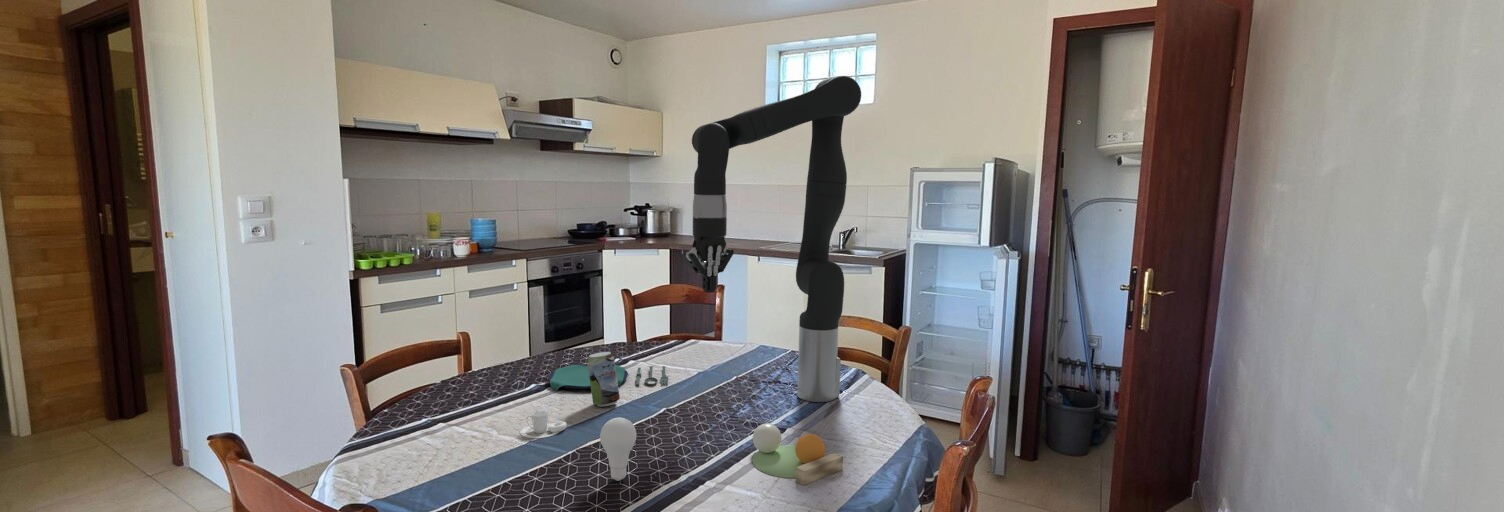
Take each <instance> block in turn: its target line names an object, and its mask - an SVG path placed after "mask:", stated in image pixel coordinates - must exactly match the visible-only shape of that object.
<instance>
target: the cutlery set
mask: <svg viewBox="0 0 1504 512" xmlns="http://www.w3.org/2000/svg"><path fill="white" fill-rule="evenodd" d="M615 367H616V374H617V382H618V386H620V385H622V383H623V381H625V380H626V379H628V376H629V372H628V371H627V370H626V368H625V366H621V365H617V364H615ZM653 368H654V367H653V366H652V365H651V366H649V375H650V376H649V377H646V378H645V379H644V383H645V384H646V385H650V386H651V385H655V384H657V383H658V379H657V378H656V377H653ZM547 378H548V379H547V381H548V382H549V385H550V387H551V389H553V390H554V391H558V390H559V389H560V388H566V389H572V390H573V389H576V390H581V389H582V390H587V389H589V390H591V386H590V379H589V371H588V364H572V365H568V366H564V367H559V368H556V369H555V370H554V371H553V372H551V373H549V375H548V376H547ZM641 378H642V373H641V367H637V372H636V379H635V380H636V381H635V384H636V385H635V386H638V387H640V382H641V381H640V379H641ZM648 382H654V383H648ZM660 382H661V386H665V385H666V386H668V384H669V376H667V374H666V366H665V365H663V366H662V376H660Z"/></svg>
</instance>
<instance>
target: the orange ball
mask: <svg viewBox="0 0 1504 512" xmlns="http://www.w3.org/2000/svg"><path fill="white" fill-rule="evenodd" d="M794 446H795V452H796V455H797V457H798V459H799V460H800V461H801V462H802V463H804V464H806V463H809V462H812V461H814V460H817V459H820V458H822V457H824V456H826V455H825V454H826V445H825V443H824V441H823V440H822V438H821V437H820V436H818V435H816V434H814V433H806V434H804V435H802V436H801V437H799V439H798V440H797V442H796V443H795V445H794Z"/></svg>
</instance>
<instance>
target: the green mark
mask: <svg viewBox="0 0 1504 512" xmlns="http://www.w3.org/2000/svg"><path fill="white" fill-rule="evenodd" d="M795 446H796V445H791V444H790V445H788V444H787V445H785V444H784V445H781V444H780V446H779V447H778V449H777V450H775V451H774V452H772V453H763V452H761V451H759V450H757V451H756V452H755V453H754V454H753V456H752V464H753V467H755V468H756V469H757V470H758V471H760V472H762V473H764V474H767V475H770V476H773V477H778V478H787V479H796V467H798V466H801V465H804V463H802V462H801V461H800V460H799V459H798V457H797V455H796V452H795ZM825 456H826V455H824V457H825Z"/></svg>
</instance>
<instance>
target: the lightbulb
mask: <svg viewBox="0 0 1504 512" xmlns="http://www.w3.org/2000/svg"><path fill="white" fill-rule="evenodd" d="M636 439H637V429H636V427H635V425H634V424H633V422H631V420H629V419H627V418H624V417H619V416H618V417H614V418H611V419H609V420H608V421H606V423H604V425H603V426H602V428H601V430H600V434H599V440H600V444H601V446H602V448H603V449H604V451H605V453H606V455H607V458H608V466H609V467H610V477H611V479H613V480H615V481H617V482H619V481H622V480H623V479H625V478H626V476H627V466H628V464H629V456H630V453H631V451H632V449H633V447H634V445H635V443H636V441H637V440H636Z"/></svg>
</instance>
